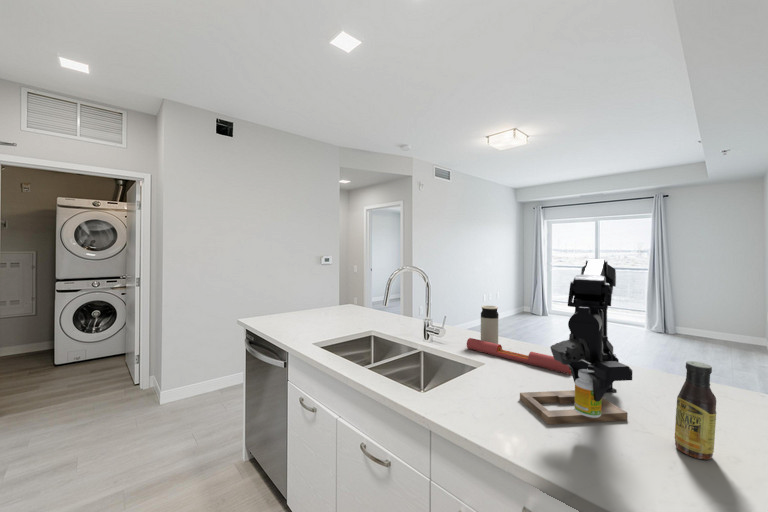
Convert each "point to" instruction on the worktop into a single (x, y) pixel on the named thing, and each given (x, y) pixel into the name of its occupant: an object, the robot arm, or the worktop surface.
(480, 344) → the blood vessel
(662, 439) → the worktop surface
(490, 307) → the travel mug
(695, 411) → the sauce bottle
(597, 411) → the supplement bottle
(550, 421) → the brown wooden frame
